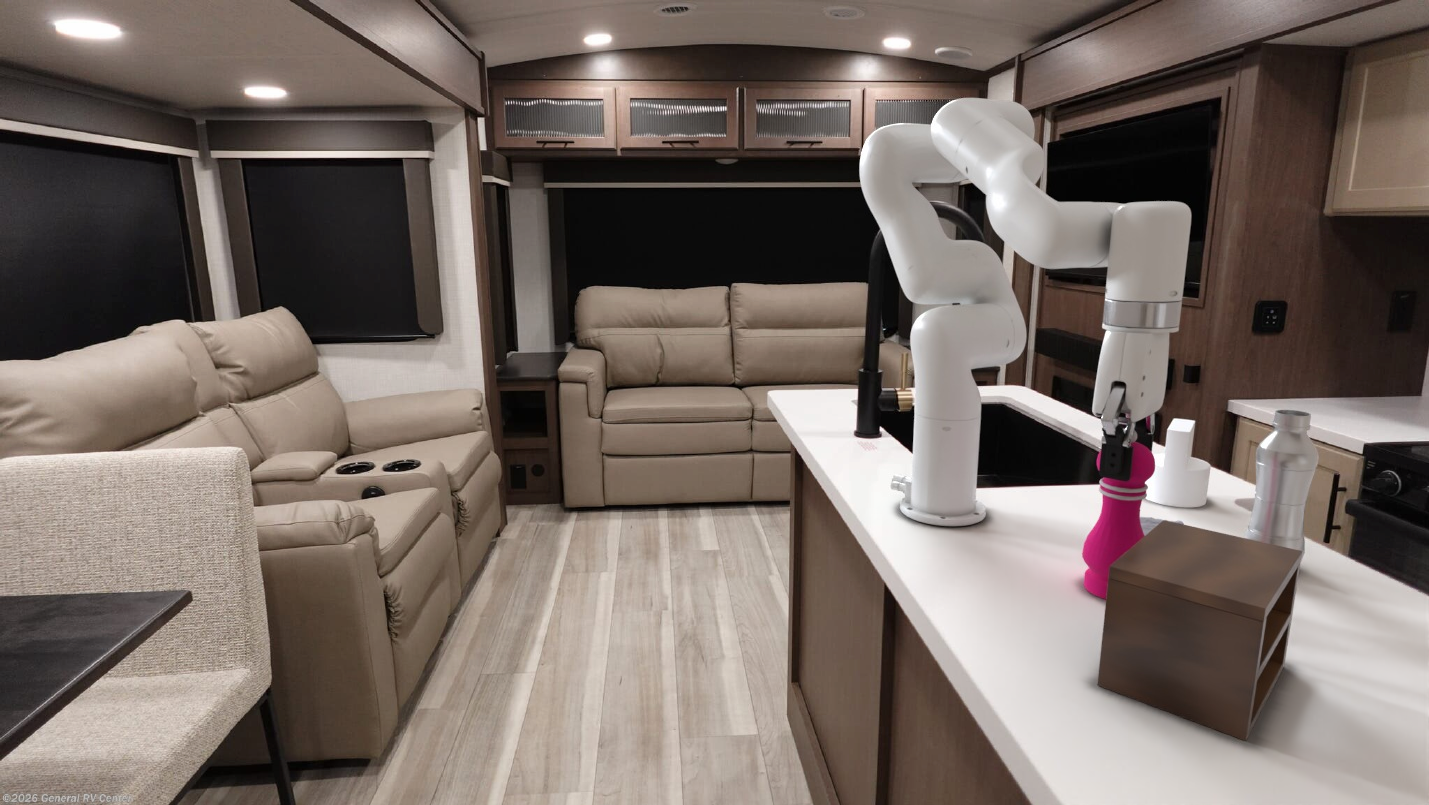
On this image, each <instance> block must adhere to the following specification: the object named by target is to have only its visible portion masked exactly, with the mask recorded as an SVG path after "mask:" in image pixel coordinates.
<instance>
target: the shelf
mask: <svg viewBox="0 0 1429 805" xmlns="http://www.w3.org/2000/svg"><path fill="white" fill-rule="evenodd" d="M1162 520H1163V521H1162V522H1161V523H1159V524H1158V525H1157V526H1156V527H1155V528H1154V529H1152V530H1151V531H1150V532H1149V533H1148V534H1147V535H1145V536H1144V537H1143V538H1142V539H1141V540H1140V541H1138V542H1137V543H1136V544H1135V545H1134V546H1133V547H1131V548H1130V549H1129V550H1128V551H1127V552H1126V553H1124V554H1123V555H1122V556H1121V557H1120V558H1119V559H1117V560H1116V561H1115V562H1114V563H1113V564H1112V565H1110V566H1109V576H1108V586H1107V596H1106V599H1105V607H1104V617H1103V626H1102V636H1101V644H1100V655H1099V666H1098V673H1097V674H1098V675H1097V683H1096V684H1097V686H1099V687H1101V688H1104V689H1107V690H1109V691H1111V692H1115V693H1117V694H1119V695H1122V696H1125V697H1128V698H1131V699H1133V700H1136V701H1138V702H1141V703H1144V704H1146V705H1148V706H1151V707H1155V708H1157V709H1160V710H1162V711H1165V712H1168V713H1170V714H1173V715H1175V716H1178V717H1180V718H1183V719H1186V720H1189V721H1191V722H1194V723H1196V724H1199V725H1202V726H1205V727H1208V728H1210V729H1213V730H1215V731H1219V732H1221V733H1223V734H1226V735H1229V736H1231V737H1235V738H1237V739H1239V740H1243V741H1247V739H1248V737H1249V735H1250V733H1251V732H1252V730H1253V727H1254V726H1255V724H1256V721H1257V720H1258V718H1259V716H1260V714H1261V712H1262V710H1263V709H1264V706H1265V704H1266V702H1267V701H1268V698H1269V696H1270V695H1271V693H1272V691H1273V689H1274V687H1275V686H1276V683H1277V681H1278V679H1279V678H1280V675H1281V674H1282V671H1283V669H1284V668H1285V663H1286V657H1287V651H1288V644H1289V639H1290V633H1291V626H1292V619H1293V613H1294V608H1295V607H1294V606H1295V601H1296V594H1297V590H1298V589H1297V588H1298V583H1299V575H1300V570H1301V564H1302V561H1301V557H1302V551H1300V550H1295V549H1291V548H1286V547H1282V546H1277V545H1273V544H1269V543H1264V542H1260V541H1255V540H1251V539H1246V538H1244V537H1241V536H1237V535H1232V534H1227V533H1223V532H1220V531H1219V532H1218V531H1215V530H1210V529H1205V528H1201V527H1198V526H1197V527H1196V526H1191V525H1189V524H1184V525H1183V524H1179V523H1175V522H1170V521H1171V520H1168V521H1166V520H1167V519H1162Z"/></svg>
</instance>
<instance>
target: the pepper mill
mask: <svg viewBox="0 0 1429 805" xmlns="http://www.w3.org/2000/svg"><path fill="white" fill-rule="evenodd" d="M1123 429H1124V434H1125V430H1126V428H1123ZM1136 439H1137V433H1136V431H1135V430H1134V432H1133V436H1132V441H1131V445H1130V446H1133V447H1134V451H1133V461H1132V470H1131V478H1130V480H1129V481H1126V482H1125V481H1120V480H1115V479H1110V478H1105V477H1101V478H1100V480H1099V482H1098V483H1099V487H1098V492H1099V493H1100V494H1101V496H1102V505H1101V510H1100V515H1099V516H1098V518H1097V521H1096V523H1094V526H1093V527H1092V529H1091V530H1090V531H1089V533H1088V535H1087V536H1086V538H1085V540H1084V543H1083V547H1082V552H1081V555H1082V556H1081V557H1082V559H1083V561H1084V563H1085V564H1086V566H1087V567H1088V568H1087V569H1086V570H1085V571H1084V578H1083V586H1084V588H1085V590H1087V592H1089V593H1090V594H1092V595H1094V596H1095V597H1098V598H1101V599H1103V600H1106V596H1107V586H1108V576H1109V566H1110V565H1112V564H1113V563H1114V562H1115V561H1116V560H1117V559H1119V558H1120V557H1121V556H1122V555H1123V554H1124V553H1126V552H1127V551H1128V550H1129V549H1130V548H1131V547H1133V546H1134V545H1135V544H1136V543H1137V542H1138V541H1140V540H1141V539H1142V538H1143V537H1144V536H1145V535H1144V533H1143V530H1142V527H1141V522H1140V517H1141V507H1142V502H1143V500H1144V499H1146V497H1147V493H1146V490H1147V489H1148V486H1147V484H1145V482H1146V481H1147V480H1148V479H1149V478H1151V476H1152V475H1153V473H1154V471H1155V459H1154V456H1153V451H1152V452H1151V451H1150V450H1149V449H1148V448H1147V447H1146V446H1144V445H1142V444H1140V443H1137V442H1135V441H1136ZM1100 457H1101V449H1100V450H1099V452H1098V454H1097V458H1096V468H1097V470H1098V471H1099V467H1100Z"/></svg>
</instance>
